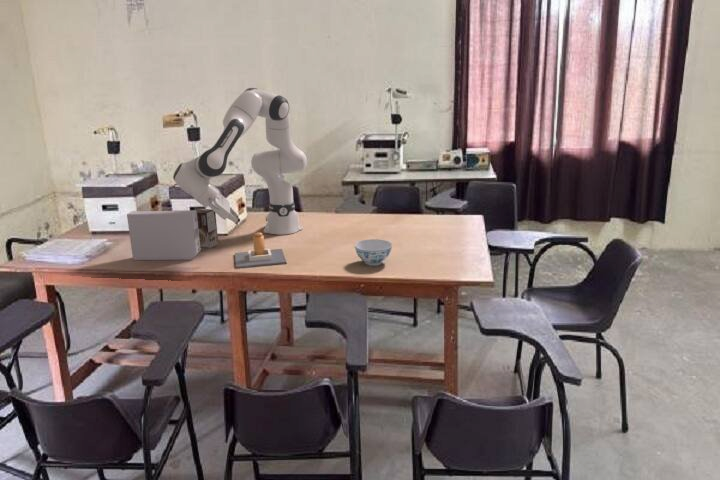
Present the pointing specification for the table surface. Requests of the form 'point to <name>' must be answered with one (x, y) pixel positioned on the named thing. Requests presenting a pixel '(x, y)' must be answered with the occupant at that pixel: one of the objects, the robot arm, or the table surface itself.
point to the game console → (164, 234)
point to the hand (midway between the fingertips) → (236, 218)
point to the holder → (259, 258)
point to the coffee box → (207, 228)
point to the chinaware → (373, 250)
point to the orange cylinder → (259, 244)
